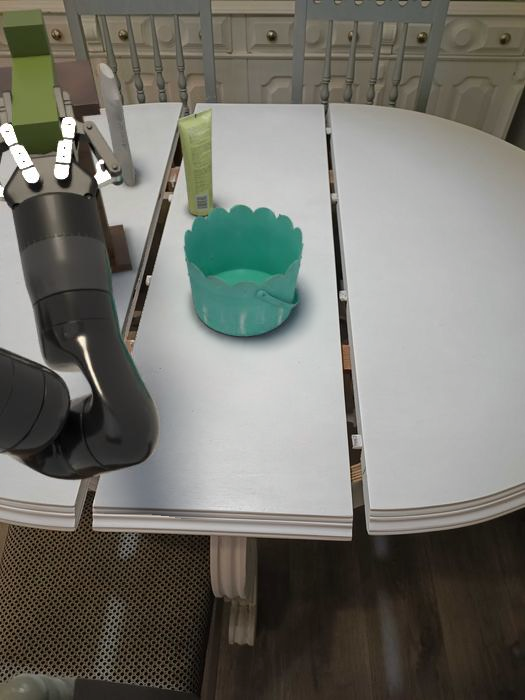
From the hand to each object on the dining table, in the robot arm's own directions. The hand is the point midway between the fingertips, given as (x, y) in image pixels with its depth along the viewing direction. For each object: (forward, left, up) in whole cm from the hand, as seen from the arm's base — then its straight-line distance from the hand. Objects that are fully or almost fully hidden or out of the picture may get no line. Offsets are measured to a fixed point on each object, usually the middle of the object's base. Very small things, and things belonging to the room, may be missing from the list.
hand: (33, 94), depth 52 cm
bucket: (+23, +7, -39) cm, 46 cm away
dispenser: (+9, +52, -39) cm, 65 cm away
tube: (+22, +35, -39) cm, 57 cm away
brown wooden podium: (0, +22, -39) cm, 45 cm away
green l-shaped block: (0, +4, -3) cm, 5 cm away
